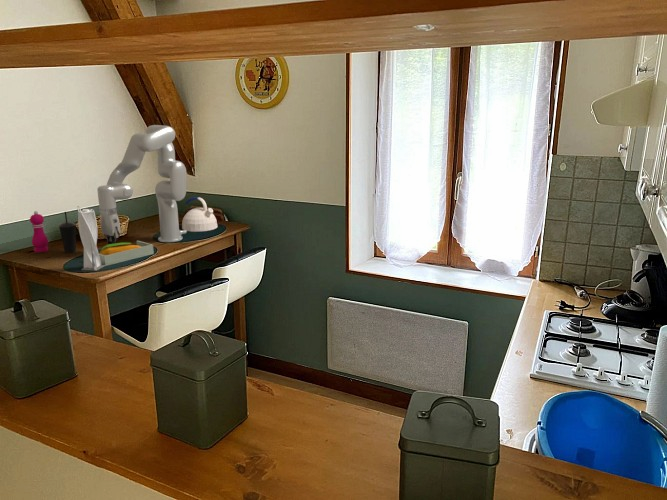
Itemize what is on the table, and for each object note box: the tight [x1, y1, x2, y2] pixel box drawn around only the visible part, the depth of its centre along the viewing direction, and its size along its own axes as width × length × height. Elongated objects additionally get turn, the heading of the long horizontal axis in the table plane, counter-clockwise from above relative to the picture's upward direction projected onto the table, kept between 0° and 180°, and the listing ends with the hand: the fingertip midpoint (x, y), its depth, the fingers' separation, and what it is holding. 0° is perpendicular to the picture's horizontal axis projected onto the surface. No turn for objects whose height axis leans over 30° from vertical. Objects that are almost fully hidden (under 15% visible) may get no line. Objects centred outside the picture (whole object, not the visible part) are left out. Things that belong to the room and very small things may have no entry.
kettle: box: [181, 196, 218, 233], centre depth 323 cm, size 20×21×18 cm
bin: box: [99, 240, 155, 267], centre depth 265 cm, size 25×13×5 cm, turn 142°
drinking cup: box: [57, 211, 77, 254], centre depth 272 cm, size 8×8×20 cm
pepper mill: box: [29, 210, 49, 253], centre depth 274 cm, size 7×7×20 cm
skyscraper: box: [76, 205, 106, 272], centre depth 246 cm, size 8×8×28 cm
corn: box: [99, 242, 141, 255], centre depth 265 cm, size 7×8×20 cm
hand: (112, 248), depth 271 cm, fingers closed
